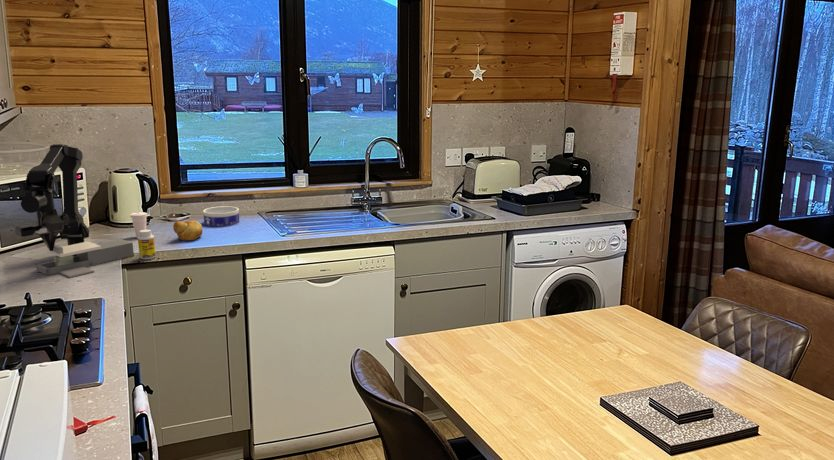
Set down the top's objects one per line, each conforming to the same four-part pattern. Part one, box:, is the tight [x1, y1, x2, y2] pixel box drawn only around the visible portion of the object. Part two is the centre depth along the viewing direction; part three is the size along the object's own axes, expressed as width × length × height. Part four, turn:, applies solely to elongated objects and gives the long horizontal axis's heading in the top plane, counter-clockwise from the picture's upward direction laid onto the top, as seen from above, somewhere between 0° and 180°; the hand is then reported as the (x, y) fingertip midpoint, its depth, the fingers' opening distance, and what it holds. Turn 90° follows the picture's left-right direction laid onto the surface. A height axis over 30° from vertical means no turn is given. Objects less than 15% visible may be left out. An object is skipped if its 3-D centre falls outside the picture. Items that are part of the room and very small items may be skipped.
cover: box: [47, 241, 101, 257], centre depth 240 cm, size 10×14×3 cm
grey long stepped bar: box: [35, 238, 135, 276], centre depth 243 cm, size 9×30×5 cm, turn 140°
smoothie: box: [130, 202, 148, 239], centre depth 278 cm, size 6×6×14 cm
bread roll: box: [172, 219, 204, 242], centre depth 277 cm, size 13×10×8 cm
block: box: [53, 255, 74, 267], centre depth 238 cm, size 4×4×4 cm
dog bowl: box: [202, 205, 240, 227], centre depth 303 cm, size 15×15×6 cm
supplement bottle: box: [137, 229, 157, 260], centre depth 249 cm, size 6×6×10 cm
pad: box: [59, 266, 95, 279], centre depth 232 cm, size 8×8×1 cm
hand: (51, 250), depth 234 cm, fingers closed
